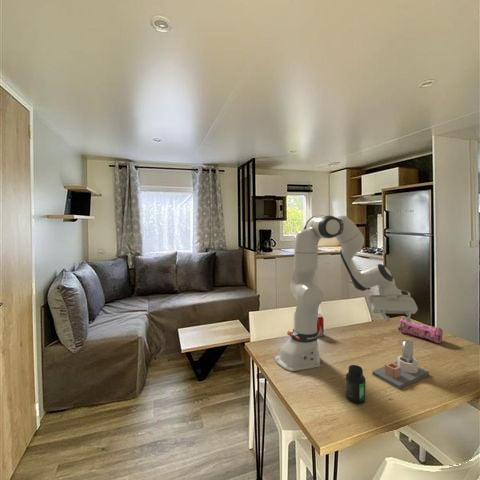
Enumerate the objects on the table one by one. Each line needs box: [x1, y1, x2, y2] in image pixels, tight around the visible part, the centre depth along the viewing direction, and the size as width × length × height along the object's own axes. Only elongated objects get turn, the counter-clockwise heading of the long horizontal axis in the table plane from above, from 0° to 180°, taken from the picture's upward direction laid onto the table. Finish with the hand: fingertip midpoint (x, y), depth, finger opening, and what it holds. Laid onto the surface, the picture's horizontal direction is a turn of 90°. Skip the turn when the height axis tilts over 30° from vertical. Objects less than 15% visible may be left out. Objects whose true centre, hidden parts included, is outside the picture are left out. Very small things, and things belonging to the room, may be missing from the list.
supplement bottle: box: [345, 364, 367, 405], centre depth 101 cm, size 7×7×12 cm
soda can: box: [317, 313, 325, 338], centre depth 160 cm, size 7×7×12 cm
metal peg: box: [401, 339, 414, 363], centre depth 119 cm, size 4×4×12 cm
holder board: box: [371, 355, 430, 390], centre depth 117 cm, size 21×12×6 cm, turn 117°
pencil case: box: [397, 317, 444, 344], centre depth 155 cm, size 21×9×9 cm, turn 33°
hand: (398, 321), depth 127 cm, fingers open, 8 cm apart
